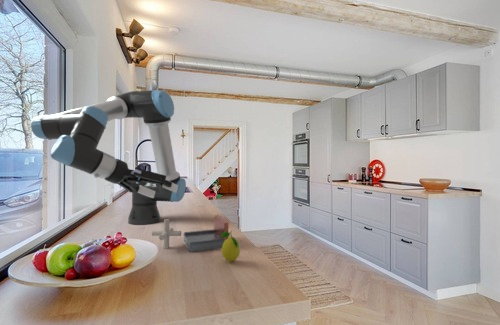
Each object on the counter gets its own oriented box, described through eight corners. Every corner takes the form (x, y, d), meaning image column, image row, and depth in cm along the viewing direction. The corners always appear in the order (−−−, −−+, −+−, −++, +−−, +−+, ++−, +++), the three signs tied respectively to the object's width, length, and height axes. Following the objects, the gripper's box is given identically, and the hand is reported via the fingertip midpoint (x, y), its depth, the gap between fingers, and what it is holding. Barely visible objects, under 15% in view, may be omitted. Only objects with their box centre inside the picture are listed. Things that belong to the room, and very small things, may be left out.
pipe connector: (176, 252, 88) (176, 223, 88) (146, 252, 89) (147, 222, 89) (184, 243, 98) (184, 216, 98) (157, 242, 99) (158, 216, 98)
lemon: (220, 258, 84) (220, 227, 84) (238, 257, 84) (239, 226, 84) (220, 266, 77) (220, 232, 77) (240, 266, 77) (240, 232, 77)
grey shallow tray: (184, 240, 102) (184, 217, 102) (217, 237, 107) (217, 215, 107) (190, 252, 89) (190, 225, 89) (228, 247, 94) (228, 222, 94)
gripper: (87, 186, 87) (142, 206, 102) (127, 171, 73) (185, 196, 88) (95, 166, 91) (148, 188, 105) (135, 148, 77) (189, 176, 91)
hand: (165, 192), depth 96 cm, fingers open, 13 cm apart
